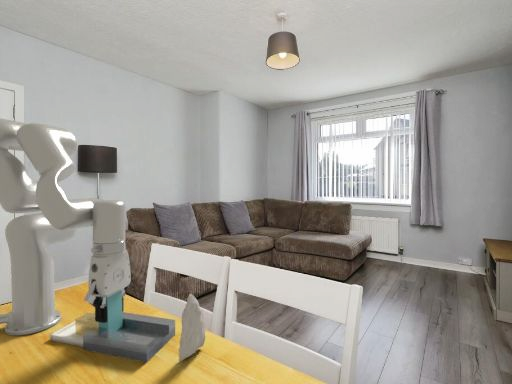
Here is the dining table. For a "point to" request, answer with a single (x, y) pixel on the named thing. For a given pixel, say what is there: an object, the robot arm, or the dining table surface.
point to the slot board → (134, 355)
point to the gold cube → (92, 321)
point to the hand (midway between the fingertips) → (109, 315)
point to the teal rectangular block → (113, 312)
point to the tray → (67, 335)
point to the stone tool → (191, 328)
